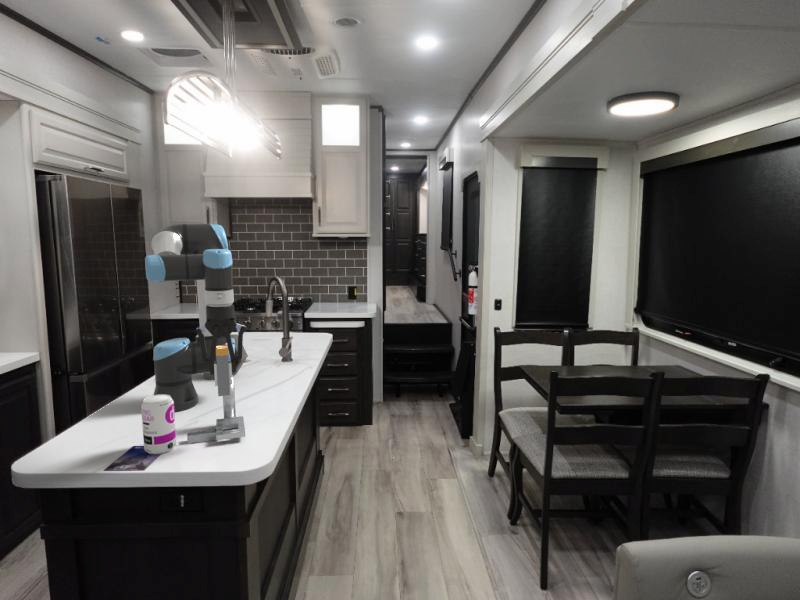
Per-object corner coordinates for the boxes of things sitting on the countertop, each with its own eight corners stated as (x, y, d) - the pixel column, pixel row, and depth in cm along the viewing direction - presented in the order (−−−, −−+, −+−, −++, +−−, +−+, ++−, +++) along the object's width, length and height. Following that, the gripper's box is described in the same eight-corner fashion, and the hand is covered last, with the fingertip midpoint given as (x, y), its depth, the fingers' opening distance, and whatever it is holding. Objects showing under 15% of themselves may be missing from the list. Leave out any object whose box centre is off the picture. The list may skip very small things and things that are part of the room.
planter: (188, 368, 200) (213, 327, 197) (196, 362, 208) (220, 323, 205) (223, 390, 201) (248, 350, 198) (230, 384, 209) (254, 345, 206)
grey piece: (186, 449, 138) (183, 395, 135) (190, 426, 154) (187, 377, 151) (245, 441, 143) (243, 389, 141) (242, 419, 159) (240, 372, 157)
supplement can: (181, 442, 142) (177, 393, 140) (168, 455, 134) (165, 403, 132) (153, 442, 142) (149, 393, 140) (139, 455, 134) (135, 403, 132)
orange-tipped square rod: (218, 396, 138) (215, 349, 136) (218, 392, 142) (215, 346, 139) (230, 395, 140) (228, 348, 137) (230, 391, 143) (228, 345, 140)
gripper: (187, 308, 130) (192, 391, 134) (250, 305, 135) (253, 385, 139) (189, 303, 137) (194, 382, 141) (249, 300, 142) (252, 377, 146)
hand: (223, 383), depth 140 cm, fingers closed on orange-tipped square rod, 3 cm apart
